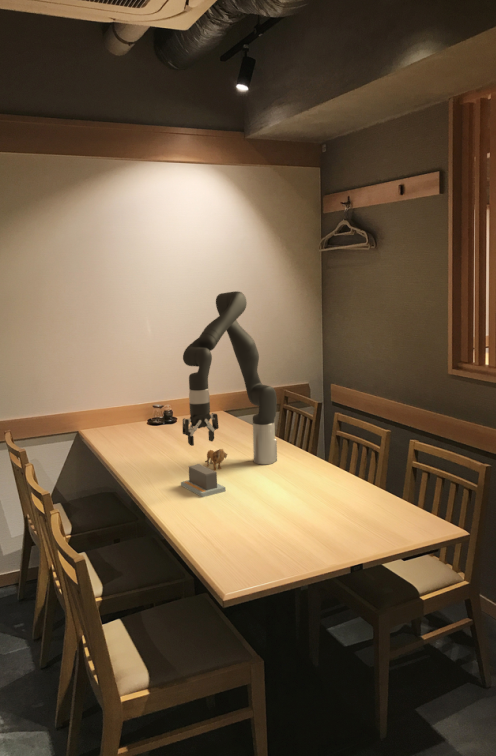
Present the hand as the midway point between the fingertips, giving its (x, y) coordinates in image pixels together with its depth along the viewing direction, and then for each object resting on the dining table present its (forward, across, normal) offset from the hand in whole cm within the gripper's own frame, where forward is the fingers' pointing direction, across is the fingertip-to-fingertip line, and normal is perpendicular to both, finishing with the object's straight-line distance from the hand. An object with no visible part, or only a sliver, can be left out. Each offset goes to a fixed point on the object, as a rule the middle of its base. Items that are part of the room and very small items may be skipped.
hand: (201, 443), depth 242 cm
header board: (+18, 0, 0) cm, 18 cm away
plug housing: (+16, 0, 0) cm, 16 cm away
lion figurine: (+18, -17, -19) cm, 31 cm away
